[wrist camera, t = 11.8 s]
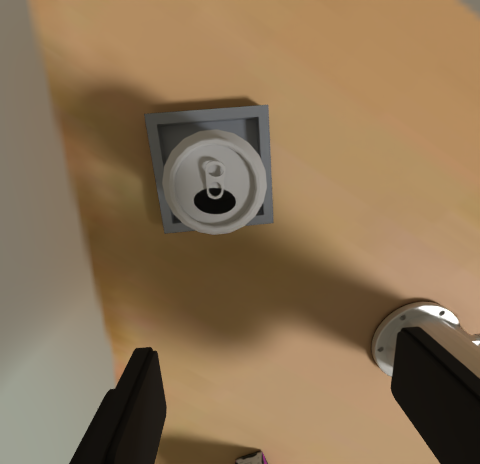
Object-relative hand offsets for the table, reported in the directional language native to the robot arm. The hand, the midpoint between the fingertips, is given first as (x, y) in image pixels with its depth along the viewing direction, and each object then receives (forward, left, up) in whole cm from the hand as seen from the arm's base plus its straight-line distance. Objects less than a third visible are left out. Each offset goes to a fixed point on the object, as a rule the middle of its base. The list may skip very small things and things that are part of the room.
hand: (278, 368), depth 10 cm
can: (+2, -6, -22) cm, 22 cm away
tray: (+2, -6, -22) cm, 23 cm away
